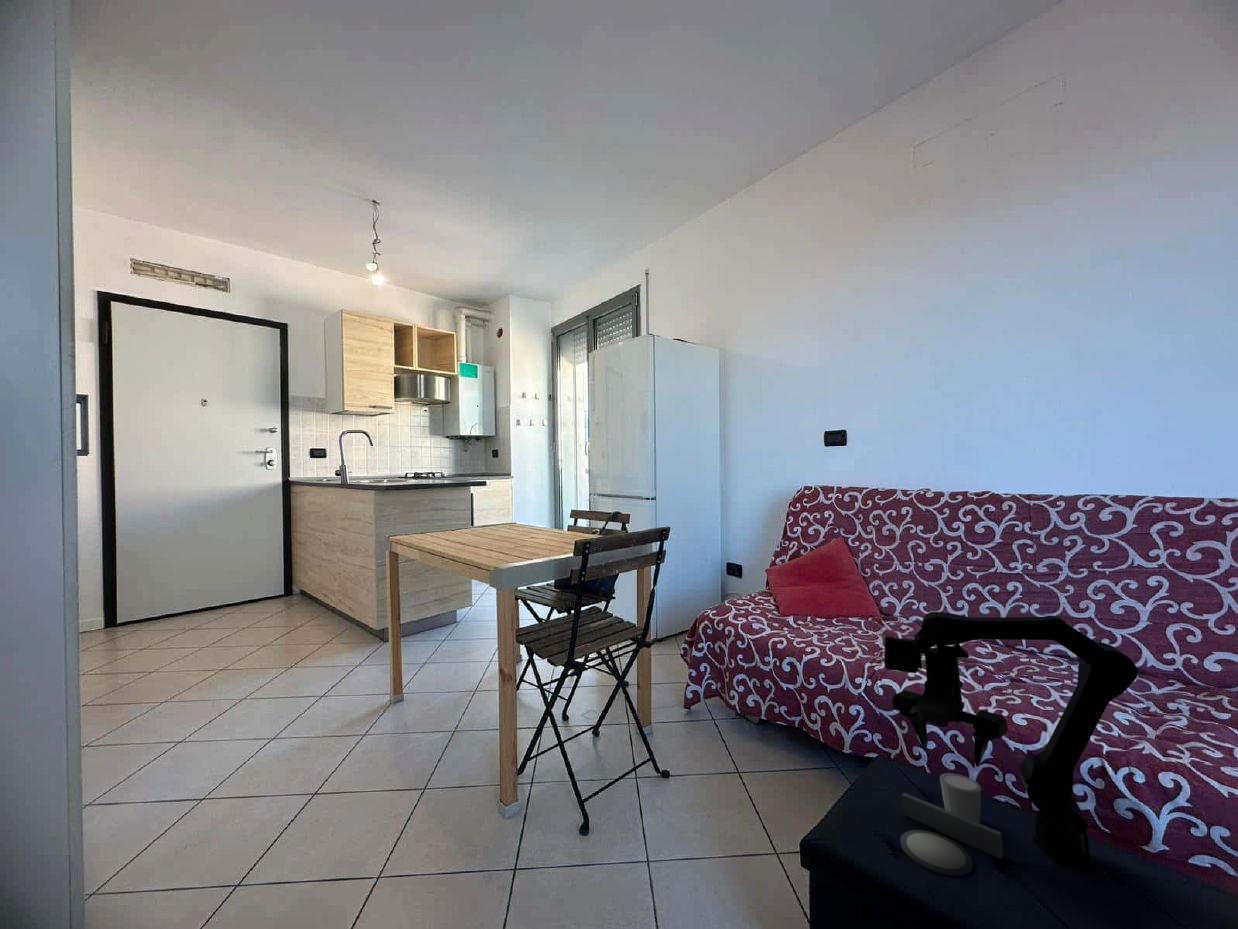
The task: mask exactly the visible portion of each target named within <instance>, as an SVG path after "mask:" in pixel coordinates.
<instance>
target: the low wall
mask: <svg viewBox="0 0 1238 929" xmlns="http://www.w3.org/2000/svg"><path fill="white" fill-rule="evenodd" d="M901 806H902V807H901V808H902V816H903V815H906V816H908V817H910V818H912V819H914V820H916V821H919V822H921V823H923V824H924V825H923V824H922V825H923V826H925V825H928V826H929V827H928V826H927V827H928V828H930V827H932V828H935V829H936V830H935V831H937V830H938V831H937V832H939V833H941V832H942V833H941V834H943V833H944V834H943V835H946V836H949V837H950V838H952V839H955V840H957V841H959V842H962V843H964V844H965V845H969V847H970V846H971V847H972V848H975V849H977V850H980V851H982V852H984V853H986V854H988V855H991V856H993V857H995V858H997V859H999V860H1002V859H1003V857H1004V853H1003V852H1004V850H1003V842H1002V832H1001V831H999V830H997V829H993V828H991V827H989V826H986V825H985V824H981V823H980V824H979V823H977V822H974V821H972V820H970V819H967V818H965V817H962V816H960V815H957V814H955V813H952V812H950V811H948V810H945V808H943V807H940V806H937V805H935V804H933V803H930V802H928V801H925V800H923V799H921V798H918V797H915V796H913V795H911V794H908V793H906V792H903V793H902V794H901ZM912 819H911V820H912ZM914 820H913V821H914ZM916 821H915V822H916ZM919 822H918V823H919ZM921 823H920V824H921ZM932 828H931V829H932Z"/></svg>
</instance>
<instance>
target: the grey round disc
mask: <svg viewBox="0 0 1238 929" xmlns="http://www.w3.org/2000/svg"><path fill="white" fill-rule="evenodd" d="M899 840H900V841H899V842H900V847H901V848H902V850H903V852H904V853H905V854H906V855H907V857H909V858H910V859H911V860H912V861H913V862H914V863H916V864H917V865H919V866H921V867H923V868H924V869H927V870H929V871H932V872H934V873H937V874H940V873H941V874H940V875H944V876H949V877H962V876H966V875H968V874H970V873H971V872H972V871H973V869H974V862H973V859H972V857H971V855H970V854H969V853H968V851H967V850H966V849H965V848H964V847H963V846H961V845H960V844H959V843H957V842H956V841H954V840H953V839H950V838H948V837H946V836H944V835H942V834H939V833H936V832H932V831H929V830H920V829H914V830H913V829H912V830H908V831H905V832H903V833H902V834H901V836H900V839H899Z"/></svg>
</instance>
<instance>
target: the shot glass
mask: <svg viewBox="0 0 1238 929" xmlns="http://www.w3.org/2000/svg"><path fill="white" fill-rule="evenodd" d="M939 783H940V786H941V792H942V799H943V804H944V805H943V806H944V809H945V810H948V811H950V812H952V813H955V814H957V815H960V816H962V817H965V818H967V819H970V820H972V821H974V822H977V823H979V824H981V801H982V800H981V799H982V798H981V797H982V794H981V793H982V787H981V785H980V784H979V782H976V780H974V779H972V778H970V777H967V776H965V775H962V774H958V773H952V772H949V773H948V772H947V773H943V774H941V775H940V776H939Z"/></svg>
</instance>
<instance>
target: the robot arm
mask: <svg viewBox="0 0 1238 929" xmlns="http://www.w3.org/2000/svg"><path fill="white" fill-rule="evenodd" d="M914 635H915V636H913V639H910V638H909V639H908V638H901V637H900V638H899V637H894V636H888V635H885V636H884V654H883V656H884V667H885V670H888V671H896V672H903V673H911V674H917V672H919V671H920V670H922V669H923V664H922V663H923V662H922V654H924V663H925V672H926V673H925V674H926V680H925V681H924V689H923V693H922V694H920V693H917V692H912V691H909V690H905V689H904V690H902V691H900V692H898V693H896V694H894V696H892V700H891V703H892V709H894V710H895V711H897V712H898V711H899V713H900V715H901V716H904V717H905V718H906V719H908V721H909V722H910V723H911V725H912V727H913V730H914V732H915V734H916V735H917V738H918V740H919V743H920V745H921V747H922V749H924V750H926V749H927V748H928V731H927V723H928V724H932V725H935V726H937V727H940V728H946V727H948V726H949V723H953V722H954V723H957V724H959V723H960V722H963V723H966V724H969V725H972V727H973V730H974V732H973V733H972V734H971V735H972V736H973V739H974V741H973V742H974V762H975V766H976V767H978V768H979V767H980V766H981V764H982V761H983V757H984V755H985V752H986V749H987V747H988V743H990V742H992V741H994V740H1000V739H1002V737H1004V735H1006V733H1008V732H1009V731H1008V730H1009V728H1008V722H1007V720H1006V718H1005V717H1004V716H1003V715H1002V714H999V713H998V714H997V713H994V712H990V711H986V710H983V709H981V710H979V712H977V713H975V714H974V713H970V712H967V711H965V710H964V709H965V702H964V701H963V698H962V697H963V695H962V688H963V681H962V680H961V677H960V667H959V658H960V659H969V657H970V656H969V652H968V650H966V649H965V648H963V647H962V646H961V645H960V644H965V643H968V642H972V641H979V640H1001V641H1002V640H1003V641H1005V640H1006V641H1008V640H1009V641H1011V640H1013V641H1016V640H1018V641H1021V640H1022V641H1025V640H1026V641H1030V640H1031V641H1054V642H1056V643H1058V644H1059V645H1061V646H1062V647H1064V648H1066V649H1067V650H1068V651H1069V652H1071V653H1072V654H1074V655H1075V656H1077V657H1078V658H1079V661H1078V667H1077V682H1076V687H1075V689H1074V691H1073V693H1072V695H1071V696H1070V699H1069V700H1068V703H1067V705H1066V706H1065V709H1064V710H1063V713H1062V714H1061V716H1060V718H1059V720H1058V722H1057V724H1056V727H1055V728H1054V729H1053V730H1054V731H1053V733H1052V734H1051V736H1050V738H1049V740H1048V742H1047V744H1046V745H1045V748H1044V749H1043V750H1041V751H1040V752H1039V753H1037V754H1035V753H1034V752H1032V751H1031V750H1030V749H1028V750H1027V751H1026V752H1025V758H1024V761H1023V762H1022V763H1021V764H1019V765H1018V768H1019V771H1020V777H1021V781H1022V784H1023V786H1024V790H1025V791H1026V795H1027V797H1028V799H1029V801H1030V802H1031V803H1032V804H1033V805H1034V807H1036V808H1037V810H1035V813H1036V814H1035V815H1036V816H1035V817H1036V819H1035V820H1034V827H1035V828H1034V830H1035V836H1032V837H1031V839H1032V841H1033V842H1034V843H1035V844H1036V845H1037V846H1038V847H1039V848H1041V849H1042V851H1044V852H1045V854H1047V855H1048V856H1050V857H1051V859H1053V860H1054V861H1055V862H1056V863H1058V864H1059V865H1062V866H1080V867H1081V866H1082V867H1094V868H1095V867H1099V863H1098V861H1096V860H1095V859H1094V858H1093V857H1091V854H1090V844H1089V832H1088V828H1089V823H1088V821H1087V819H1086V817H1085V815H1084V814H1083V812H1082V810H1081V807H1080V805H1079V804H1078V802H1077V800H1076V798H1075V797H1074V796H1073V795H1072V794H1073V786H1074V772H1075V768H1076V767H1077V765H1078V763H1079V761H1080V760H1081V757H1082V755H1083V754H1084V751H1085V749H1086V747H1087V745H1088V743H1089V741H1090V739H1091V737H1092V736H1093V734H1094V732H1095V729H1096V727H1097V726H1098V724H1099V722H1100V720H1101V719H1102V716H1103V715H1104V712H1105V711H1106V709H1107V707H1108V705H1109V703H1111V701H1113V700H1115V699H1116V698H1118V697H1119V696H1121V695H1122V694H1124V693H1125V692H1126V691H1127V690H1128V688H1129V687H1131V686H1132V684H1133V683H1134V682H1135V681H1136V679H1137V678H1138V673H1139V671H1138V668H1137V665H1136V664H1135V663H1134V661H1133V660H1132V659H1131V658H1130V657H1129V656H1128V655H1126V654H1125V653H1124V652H1122V651H1121V650H1119V649H1118V648H1117V647H1115V646H1113V645H1111V644H1109V643H1105V642H1098V641H1096V640H1094V639H1092V638H1090V637H1089V636H1087V635H1086V634H1084V633H1082V632H1080V631H1079V630H1077V629H1076V628H1074V627H1073V626H1071V625H1070V624H1069V623H1068V622H1066V621H1065V620H1063V619H1061V617H1059V616H1056V615H1045V616H1011V617H1010V616H1009V617H1008V616H1004V617H1002V616H1001V617H999V616H997V617H996V616H994V617H988V616H987V617H982V616H980V617H972V616H966V615H961V614H956V613H950V612H943V611H931V612H927V613H926V614H925V615H924V616H923V619H922V621H921V628H920V629H919V631H918V632H917V633H915V634H914ZM935 646H936V647H935ZM919 669H920V670H919ZM1038 809H1039V810H1038Z"/></svg>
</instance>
